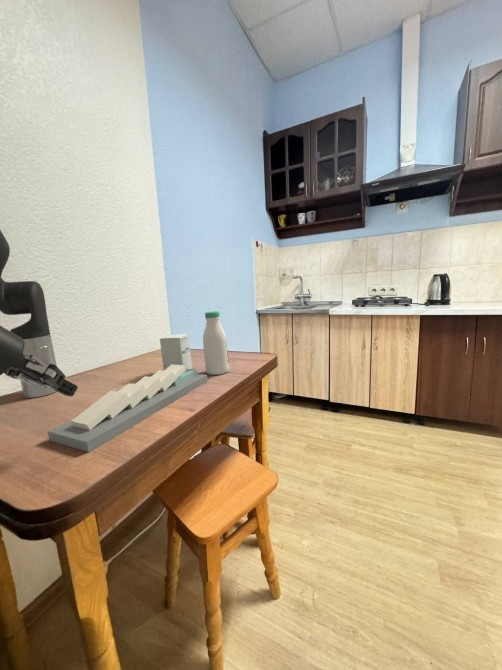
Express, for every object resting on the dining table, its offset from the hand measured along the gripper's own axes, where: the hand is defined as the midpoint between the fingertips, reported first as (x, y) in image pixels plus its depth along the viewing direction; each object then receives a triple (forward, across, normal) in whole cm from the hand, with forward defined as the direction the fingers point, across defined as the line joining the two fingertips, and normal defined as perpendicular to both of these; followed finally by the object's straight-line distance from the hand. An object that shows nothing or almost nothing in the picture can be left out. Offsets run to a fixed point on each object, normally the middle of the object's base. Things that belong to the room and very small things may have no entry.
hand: (72, 391), depth 53 cm
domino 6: (+23, 0, -13) cm, 26 cm away
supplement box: (+36, +10, -22) cm, 44 cm away
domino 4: (+16, 0, -6) cm, 17 cm away
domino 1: (+5, 0, +5) cm, 7 cm away
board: (+18, 0, -4) cm, 19 cm away
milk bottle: (+38, -4, -24) cm, 46 cm away
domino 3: (+12, 0, -2) cm, 13 cm away
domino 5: (+20, 0, -10) cm, 22 cm away
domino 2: (+9, 0, +2) cm, 9 cm away
